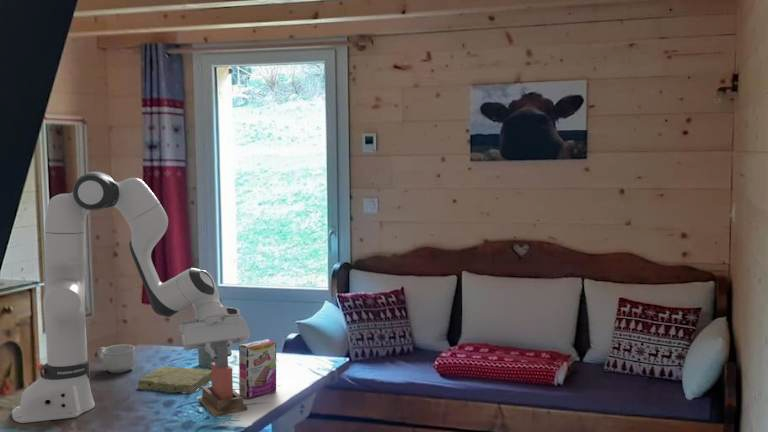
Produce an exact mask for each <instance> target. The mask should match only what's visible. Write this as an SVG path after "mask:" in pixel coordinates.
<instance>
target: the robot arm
mask: <svg viewBox="0 0 768 432" xmlns="http://www.w3.org/2000/svg"><path fill="white" fill-rule="evenodd" d="M113 207H114V208H116V209H117V210H118V211H119V213H120V214H121V215H122V217H123V218H124V220H125V222H126V223H127V225H128V226H129V229H130V232H131V239H130V241H129V243H128V246H129V251H130V254H131V256H132V259H133V262H134V264H135V267H136V269H137V271H138V274H139V276H140V279H141V281H142V283H143V286H144V288H145V291H146V293H147V297H148V300H149V304H150V306H151V308H152V310H153V311H154V313H155V314H156V315H159V316H161V317H166V318H167V317H168V318H170V317H172V316H174V315H176V314H177V313H178V312H179V311H181V310H183V309H184V308H186V307H188V306H190V305H192V306H193V312H194V313H193V314H194V317H195V319H191V320H190V319H189V320H184V321H181V323H179V324H178V331H179V333H180V334H181V340H182V341H181V342H182V348H183V349H184V350H186V351H191V350H198V349H199V348H205V351H207V352H208V353H209V354H210V355H211V359H215V358H217V352H216V351H213V350H212V349H211V348H210V347H213V346H215V345H222V344H225V345H226V346H227V349H228V357H232V355H233V353H232V347H233V344H234V345H235V344H239V343H240V344H243V343H247V342H248V340H249V338H250V336H251V332H250V329H249V326H248V324H247V321H246V320H245V318H244V317H242V316H241V310H240V309H239V308H235V307H229V306H226V305H223V304H222V302H221V301H220V293H219V290H218V286H217V284H216V281H215V279H214V278H213V276H212V274H211V273H210V272H208V271H207V270H203V269H200V268H195V267H190V268H188V269H186V270H183V271H182V272H180V273H179V274H177V275H175V276H174V277H171V278H170V279H168V280H166V281H165V282H162V281H161V279H160V277H159V275H158V273H157V271H156V268H155V266H154V264H153V263H154V262H153V260H152V252H153V249H154V248H155V246H156V245H157V244H158V243H159V241H160V240H161V239H162V237H164V235H165V233H166V231H167V230H168V225H169V217H168V215H167V213H166V211H165V209H164V207H163V206H162V204H161V202H160V200H159V199H158V198H157V196H156V195H155V193H154V192H153V191H152V190H151V188H150V187H149V186H148V185H147V184H146V183H145V182H144V181H143V180H142V179H140V178H139V177H129V178H126V179H124V180H122V181H116V180H115V179H114V177H113V176H112V175H110V174H109V173H107V172H103V171H95V170H94V171H90V172H89V171H88V172H86V173H84V174H82V175H81V176H79V178H77V179H76V181H75V182H74V184H73V187H72V192H70V193H59V194H57V195H55V196H52V197H51V198H50V199H49V201H48V203H47V208H46V213H45V221H44V222H45V223H44V271H45V272H44V273H45V288H44V289H45V290H44V295H43V298H42V306H43V307H42V309H43V321H44V322H43V323H44V333H45V343H46V362H45V363H42V362H39V363H38V364H37V365H36V368H37V370H38V372H39V376H40V377H38V378H37V379H36V380H35V381H34V382H33V383H31V384H30V385H28V386H27V388H25V389H24V390H23V392H22V393H21V397H20V400H19V401H20V402H19V405H18V406H16V407H14V408H13V409H12V411H11V418H12V419H13V421H15V422H17V423H20V424H25V423H34V422H35V423H36V422H43V421H52V420H63V419H70V418H71V419H72V418H77V417H79V416H81V415H82V414H83V413H86V412H88V411H90V410H92V409H93V408H95V405H96V403H95V400H94V397H93V393H92V390H91V385H90V384H91V383H90V376H91V369H90V368H91V367H90V366H91V365H90V360H89V358H88V342H87V325H86V324H87V323H86V307H85V306H86V305H85V304H86V303H85V301H86V299H85V298H86V240H87V239H86V235H87V234H86V230H87V228H86V227H87V226H86V225H87V224H86V223H87V222H86V221H87V217H88V214H89V212H90V211H100V210H104V209H109V208H113Z"/></svg>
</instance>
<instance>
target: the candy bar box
mask: <svg viewBox="0 0 768 432" xmlns="http://www.w3.org/2000/svg"><path fill="white" fill-rule="evenodd" d="M238 365H239V366H238V368H239V369H238V371H239V372H238V377H239V378H238V380H239V382H238V383H239V386H238V387H239V389H238V390H239V393H238V394H239V395H240V396H242V397H243V399H246V400H249V399H253V398H256V397H261V396H264V395H268V394H272V393H275V392H276V391H277V341H275V340H272V339H268V338H267V339H263V340H262V339H261V340H256V341H252V342H245V343H240V344H239V345H238Z"/></svg>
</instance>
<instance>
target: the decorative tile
mask: <svg viewBox="0 0 768 432" xmlns="http://www.w3.org/2000/svg"><path fill="white" fill-rule="evenodd" d="M209 381H210V382H212V377H211V369H204V368H192V367H191V368H190V367H188V368H187V367H172V366H162V367H159V368H156V369H155V370H152V371H151V372H149V373H148V374H145V375H144V376H143V377H141V378H140V379H139V380H138V384H137V389H138V388H139V389H138V390H151V389H155V390H154V391H159V390H162V391H161V392H163V391H169V392H168V393H175V392H185V393H184V394H194V393H195V392H196V390H197V389H198V388H200V387H201V386H203V385H204V384H205V385H206V383H207V384H208V383H210V382H209ZM205 385H204V386H205ZM204 386H203V387H204ZM201 388H202V387H201ZM201 388H200V389H201ZM198 390H199V389H198ZM198 390H197V391H198ZM194 391H195V392H194Z"/></svg>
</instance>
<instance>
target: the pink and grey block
mask: <svg viewBox="0 0 768 432" xmlns="http://www.w3.org/2000/svg"><path fill="white" fill-rule="evenodd" d="M214 347H215V351H216V352H217V358H215V362H214V363H211V367H210V368H211V369H210V370H211V377H212V380H211V386H212V392H213V393H214V394H215V395H216V396H217V397H218V398H219V399H220V400H225V399H230V398H233V390H234V388H233V387H234V386H233V368H232V367H231V366H230V365H229V358H228V347H227V346H226V345H225V344H222V345H215V346H214Z"/></svg>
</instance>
